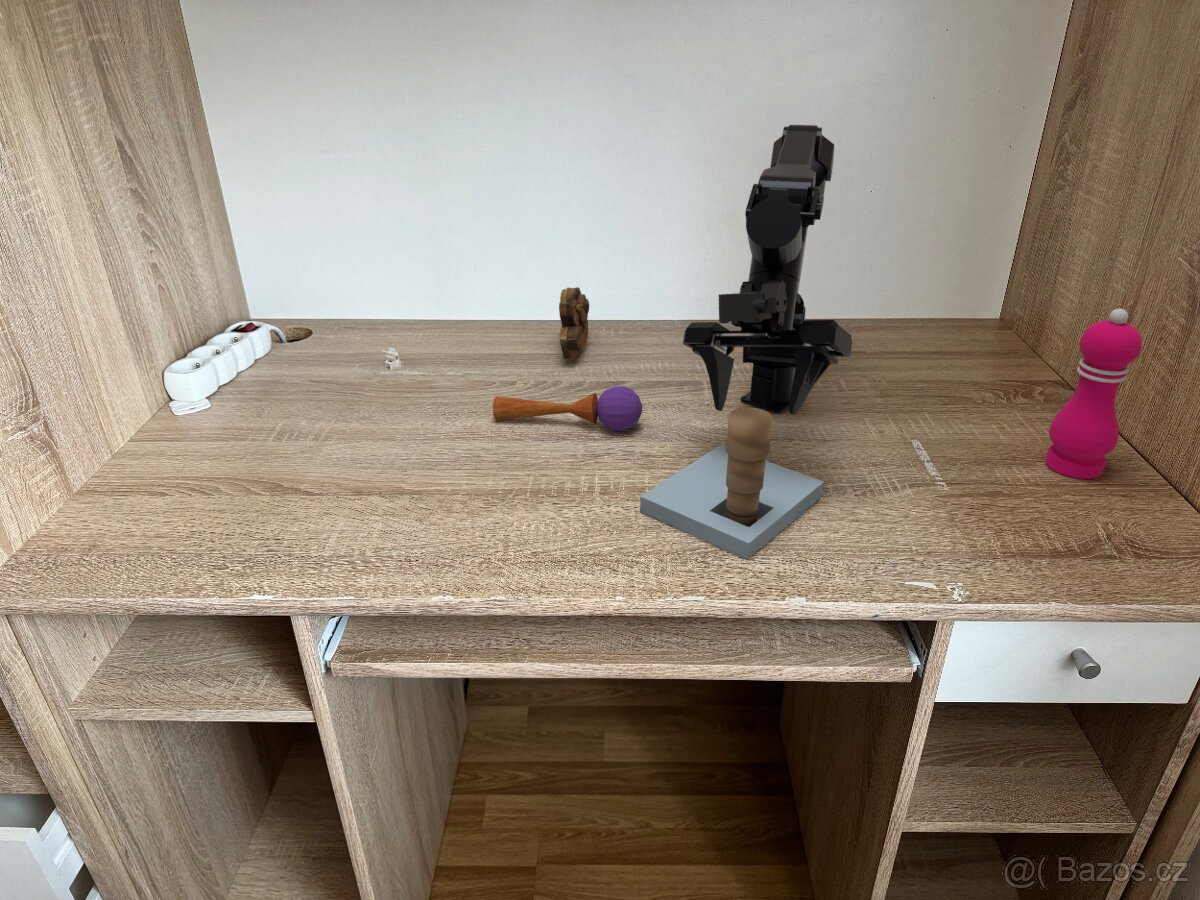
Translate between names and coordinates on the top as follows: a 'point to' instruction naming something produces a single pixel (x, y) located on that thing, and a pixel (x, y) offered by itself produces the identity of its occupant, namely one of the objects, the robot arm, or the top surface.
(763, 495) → the seat board
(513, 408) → the kendama
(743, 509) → the leg
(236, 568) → the top surface
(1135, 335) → the pepper mill
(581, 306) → the wooden carving
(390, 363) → the white figurine
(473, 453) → the top surface
